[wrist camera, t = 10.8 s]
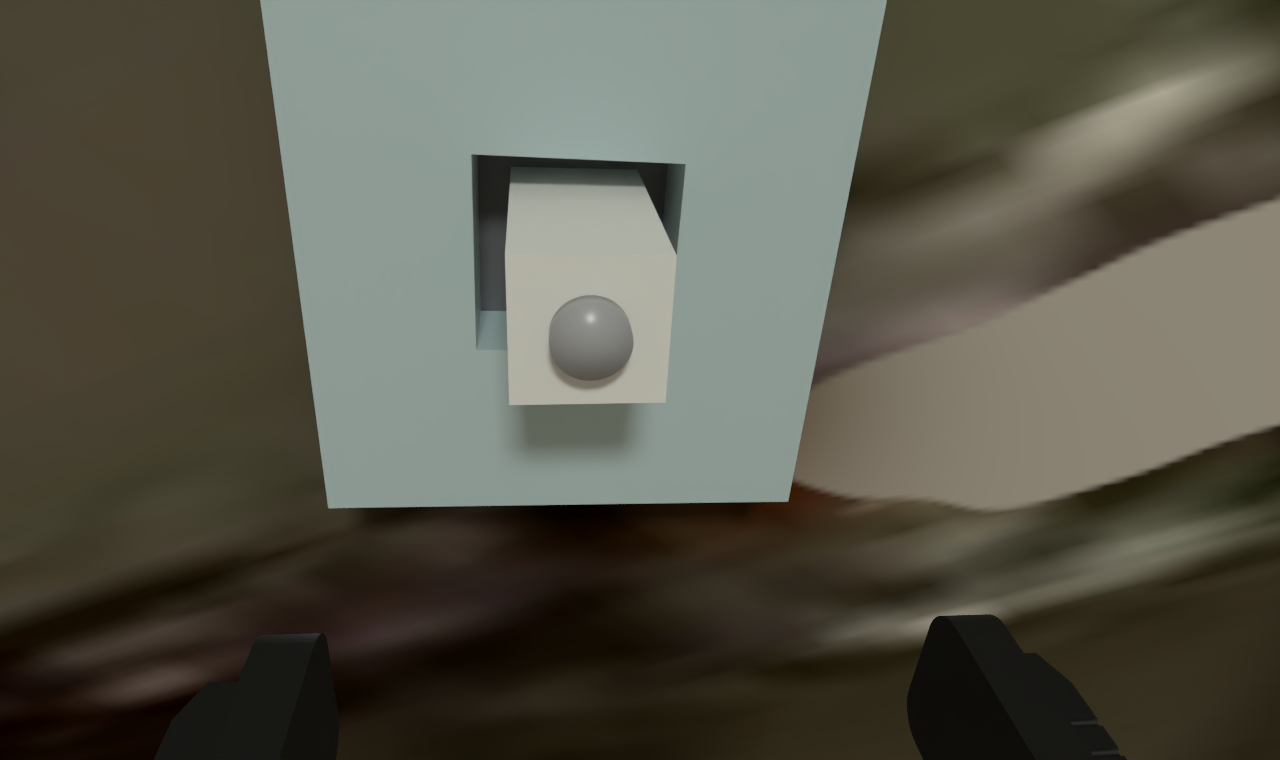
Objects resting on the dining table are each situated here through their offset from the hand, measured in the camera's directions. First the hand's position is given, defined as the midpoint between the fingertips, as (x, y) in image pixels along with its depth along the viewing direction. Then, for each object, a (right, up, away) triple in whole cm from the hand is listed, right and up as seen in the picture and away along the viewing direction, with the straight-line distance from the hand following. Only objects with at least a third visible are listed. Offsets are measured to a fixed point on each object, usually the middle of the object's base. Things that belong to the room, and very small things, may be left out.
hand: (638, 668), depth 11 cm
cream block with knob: (-2, +9, +16) cm, 18 cm away
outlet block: (-2, +9, +17) cm, 19 cm away
